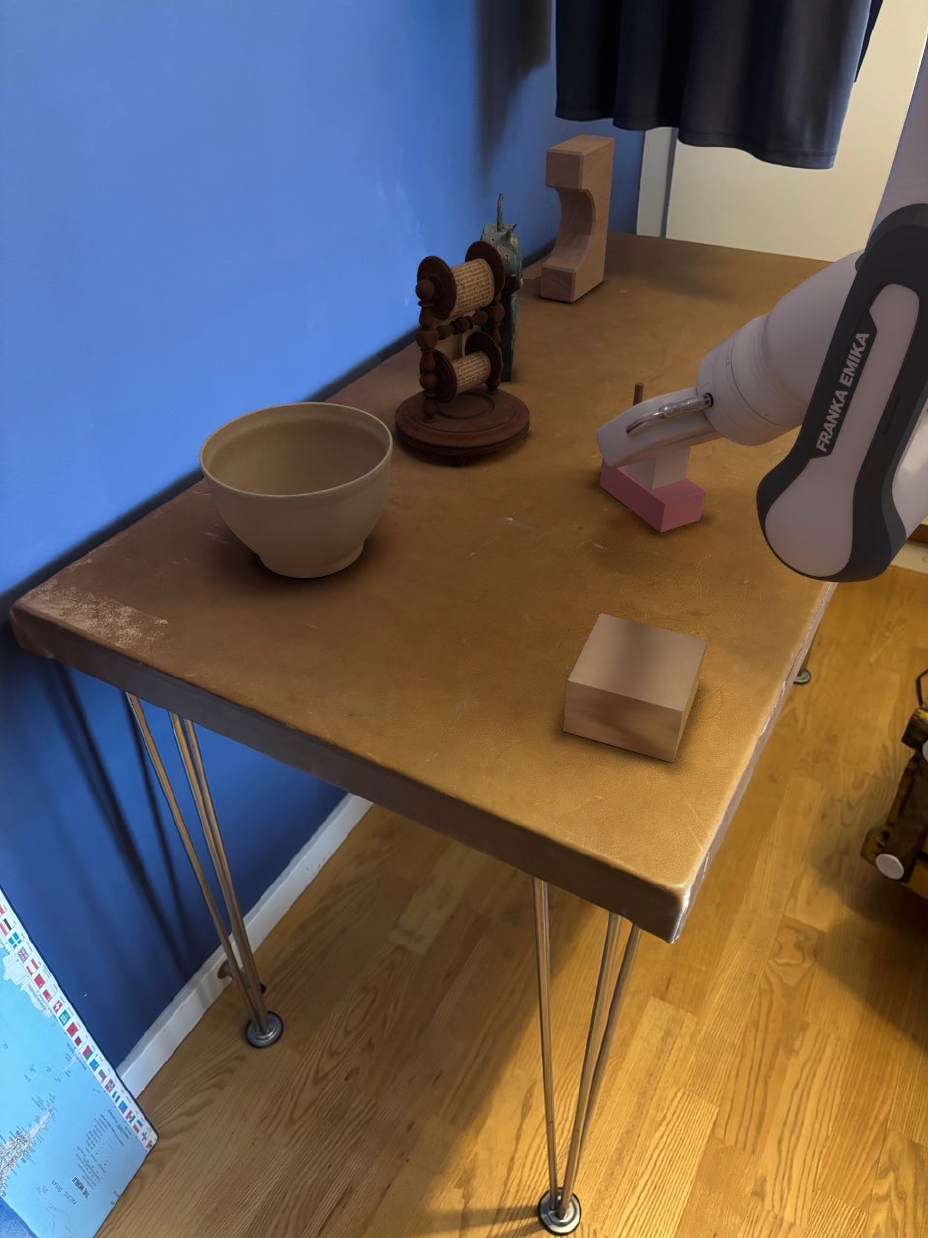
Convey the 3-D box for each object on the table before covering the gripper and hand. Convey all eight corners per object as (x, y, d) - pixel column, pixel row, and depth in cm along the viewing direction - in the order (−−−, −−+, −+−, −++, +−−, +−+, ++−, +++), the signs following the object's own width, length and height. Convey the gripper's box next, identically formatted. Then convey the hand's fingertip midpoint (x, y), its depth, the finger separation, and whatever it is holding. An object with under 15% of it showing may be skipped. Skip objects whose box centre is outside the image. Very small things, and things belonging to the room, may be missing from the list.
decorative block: (572, 304, 132) (582, 152, 120) (537, 297, 134) (544, 148, 122) (604, 282, 139) (617, 137, 127) (571, 276, 142) (580, 132, 129)
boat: (700, 519, 87) (719, 413, 80) (660, 533, 85) (676, 426, 78) (626, 465, 95) (638, 365, 88) (588, 476, 94) (597, 375, 87)
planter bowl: (187, 553, 83) (160, 446, 77) (324, 486, 92) (311, 386, 86) (295, 629, 75) (277, 516, 68) (435, 548, 84) (431, 441, 77)
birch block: (697, 689, 69) (707, 639, 66) (673, 763, 63) (683, 711, 60) (595, 662, 71) (600, 612, 68) (562, 731, 65) (567, 680, 62)
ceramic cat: (520, 387, 110) (526, 212, 98) (467, 387, 111) (466, 212, 98) (516, 325, 126) (521, 168, 113) (469, 325, 126) (469, 168, 113)
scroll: (463, 394, 109) (461, 218, 97) (556, 434, 101) (567, 247, 88) (368, 435, 101) (353, 249, 89) (461, 483, 93) (458, 285, 80)
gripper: (663, 454, 68) (580, 504, 81) (862, 396, 75) (756, 450, 88) (634, 375, 68) (556, 438, 81) (835, 325, 76) (734, 390, 88)
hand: (662, 444), depth 85 cm, fingers open, 8 cm apart
